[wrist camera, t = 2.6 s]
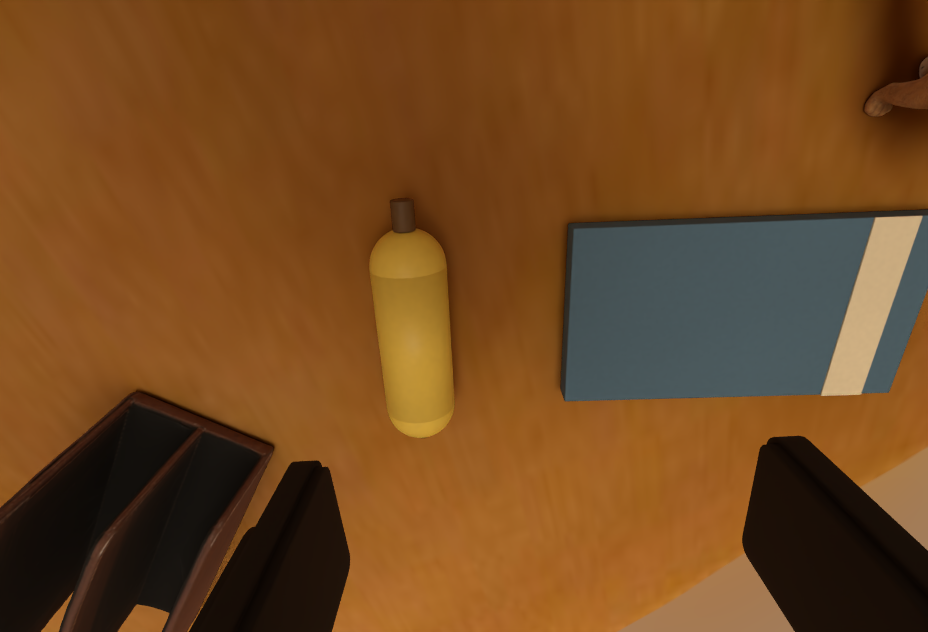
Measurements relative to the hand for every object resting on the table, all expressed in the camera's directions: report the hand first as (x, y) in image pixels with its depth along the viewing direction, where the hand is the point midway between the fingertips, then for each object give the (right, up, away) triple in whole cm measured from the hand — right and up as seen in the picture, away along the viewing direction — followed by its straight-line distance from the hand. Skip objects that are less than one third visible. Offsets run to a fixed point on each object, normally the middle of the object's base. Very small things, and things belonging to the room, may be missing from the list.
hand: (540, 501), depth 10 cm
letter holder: (-24, -11, +25) cm, 36 cm away
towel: (+14, +5, +18) cm, 23 cm away
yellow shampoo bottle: (-5, +4, +19) cm, 19 cm away
